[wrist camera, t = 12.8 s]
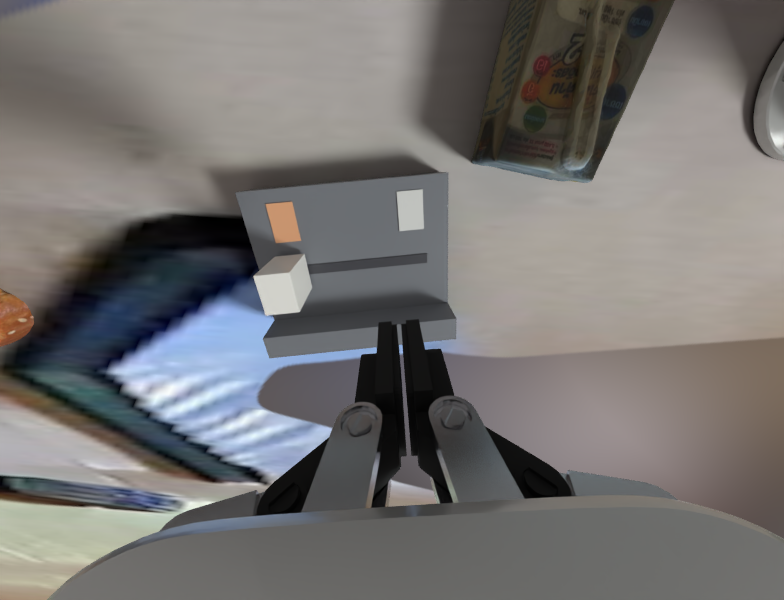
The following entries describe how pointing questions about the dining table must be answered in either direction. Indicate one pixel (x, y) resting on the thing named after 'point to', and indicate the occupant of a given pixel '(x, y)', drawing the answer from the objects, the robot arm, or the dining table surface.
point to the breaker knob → (283, 284)
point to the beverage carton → (564, 83)
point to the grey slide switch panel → (356, 258)
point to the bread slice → (13, 318)
